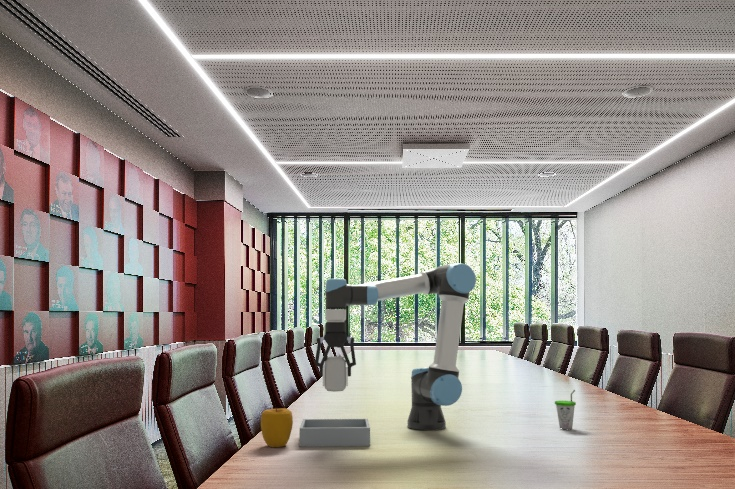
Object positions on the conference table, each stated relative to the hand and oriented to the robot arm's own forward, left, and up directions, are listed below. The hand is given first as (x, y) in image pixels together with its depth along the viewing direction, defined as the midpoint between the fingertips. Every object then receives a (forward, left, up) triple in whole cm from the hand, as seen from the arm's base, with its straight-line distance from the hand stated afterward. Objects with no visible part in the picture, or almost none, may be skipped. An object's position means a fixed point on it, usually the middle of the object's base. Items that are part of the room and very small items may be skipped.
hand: (335, 385), depth 220 cm
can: (0, 0, -2) cm, 2 cm away
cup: (-90, -19, -19) cm, 94 cm away
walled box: (0, 0, -19) cm, 19 cm away
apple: (+20, +8, -19) cm, 29 cm away
